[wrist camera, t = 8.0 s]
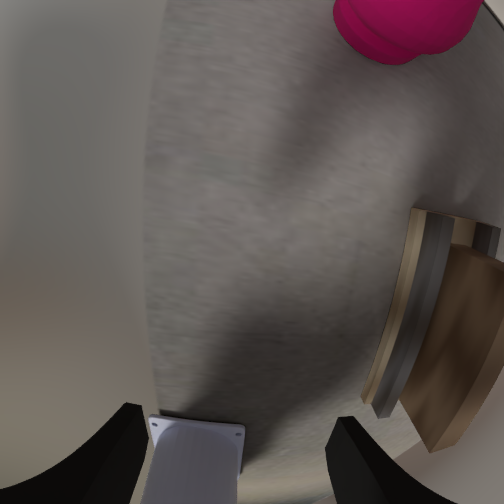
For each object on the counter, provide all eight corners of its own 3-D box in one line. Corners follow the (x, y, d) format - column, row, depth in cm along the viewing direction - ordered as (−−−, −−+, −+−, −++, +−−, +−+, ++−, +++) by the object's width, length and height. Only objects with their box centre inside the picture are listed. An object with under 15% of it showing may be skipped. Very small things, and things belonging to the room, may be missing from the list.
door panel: (420, 386, 19) (458, 443, 13) (393, 390, 19) (429, 453, 13) (468, 245, 16) (538, 279, 10) (441, 241, 16) (515, 278, 9)
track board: (427, 387, 21) (440, 406, 18) (360, 396, 21) (371, 419, 18) (481, 221, 17) (505, 229, 14) (411, 207, 17) (435, 214, 14)
